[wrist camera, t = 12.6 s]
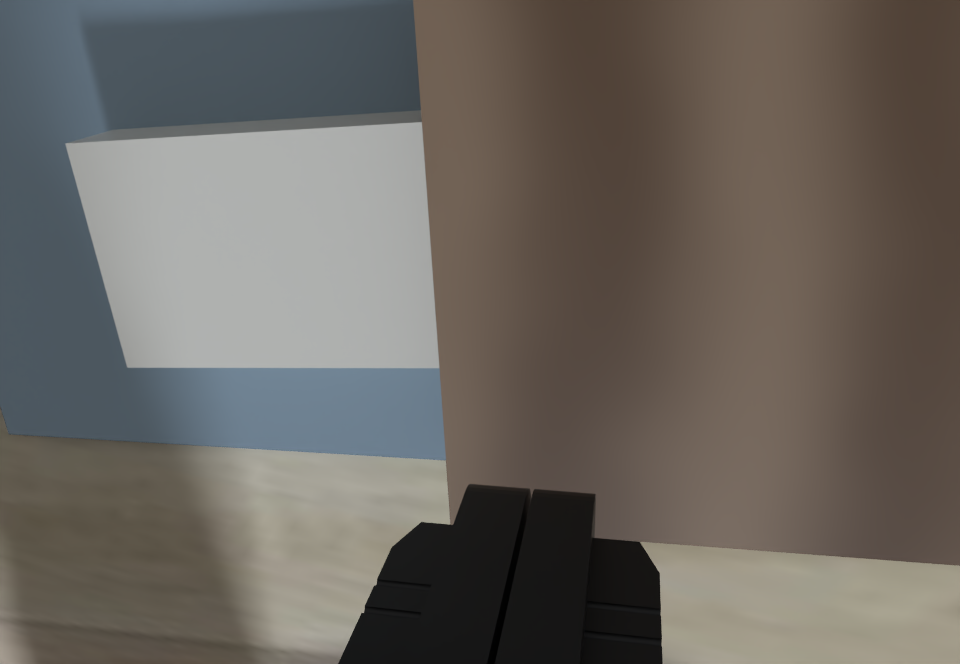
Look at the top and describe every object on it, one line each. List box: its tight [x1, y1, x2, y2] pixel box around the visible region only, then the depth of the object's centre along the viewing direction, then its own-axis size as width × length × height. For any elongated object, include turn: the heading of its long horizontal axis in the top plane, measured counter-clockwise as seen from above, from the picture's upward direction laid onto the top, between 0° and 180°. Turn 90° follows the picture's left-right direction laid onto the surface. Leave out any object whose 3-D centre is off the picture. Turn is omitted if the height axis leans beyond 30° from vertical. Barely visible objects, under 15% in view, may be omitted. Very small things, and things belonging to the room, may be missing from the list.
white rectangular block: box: [65, 110, 439, 368], centre depth 21 cm, size 9×6×2 cm, turn 95°
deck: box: [413, 0, 960, 565], centre depth 17 cm, size 20×13×4 cm, turn 93°
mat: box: [0, 0, 446, 460], centre depth 22 cm, size 15×14×1 cm
